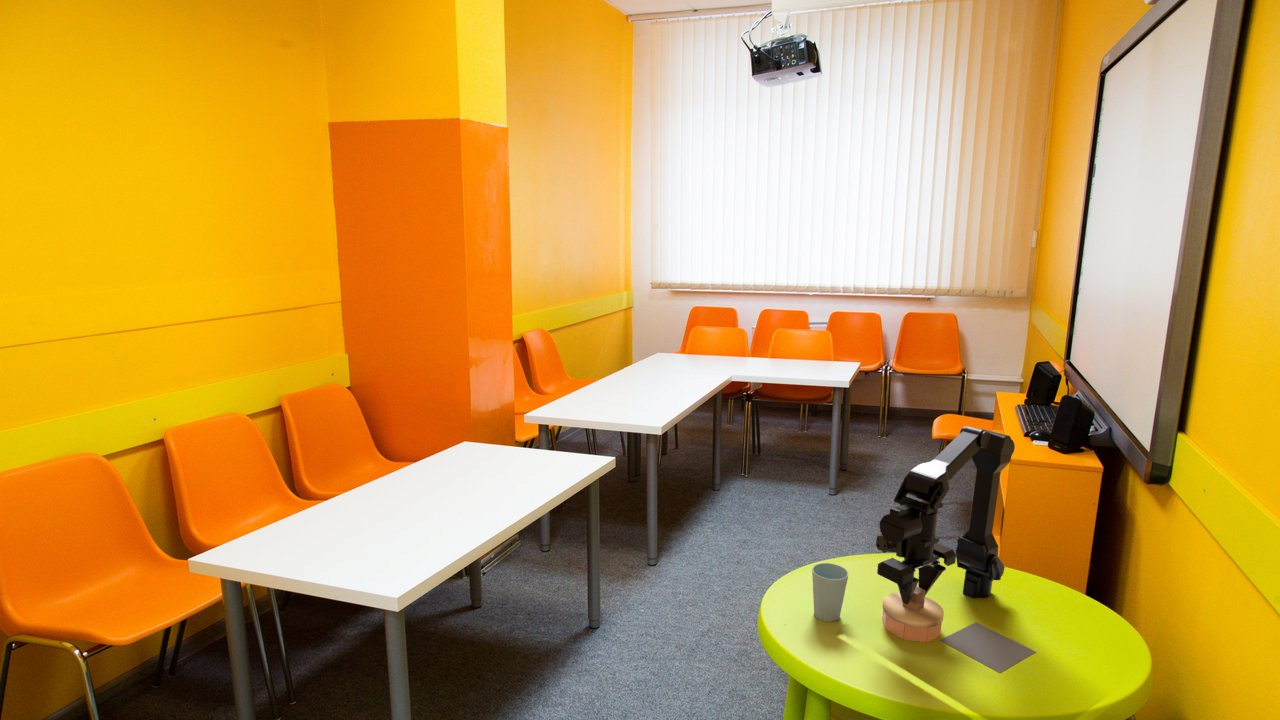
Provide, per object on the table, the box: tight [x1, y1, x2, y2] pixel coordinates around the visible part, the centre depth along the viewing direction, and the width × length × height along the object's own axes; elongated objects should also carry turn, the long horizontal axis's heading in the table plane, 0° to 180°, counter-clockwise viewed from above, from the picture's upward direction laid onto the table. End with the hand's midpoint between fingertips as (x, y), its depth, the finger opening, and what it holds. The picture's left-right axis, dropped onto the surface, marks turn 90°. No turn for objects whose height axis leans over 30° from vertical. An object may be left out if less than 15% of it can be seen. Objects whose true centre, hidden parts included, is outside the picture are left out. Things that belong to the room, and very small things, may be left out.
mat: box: [939, 621, 1037, 674], centre depth 150 cm, size 13×13×1 cm
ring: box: [881, 609, 943, 643], centre depth 157 cm, size 11×11×4 cm
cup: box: [811, 562, 850, 622], centre depth 162 cm, size 8×8×10 cm
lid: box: [882, 585, 945, 628], centre depth 156 cm, size 12×12×5 cm
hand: (913, 600), depth 156 cm, fingers open, 5 cm apart
